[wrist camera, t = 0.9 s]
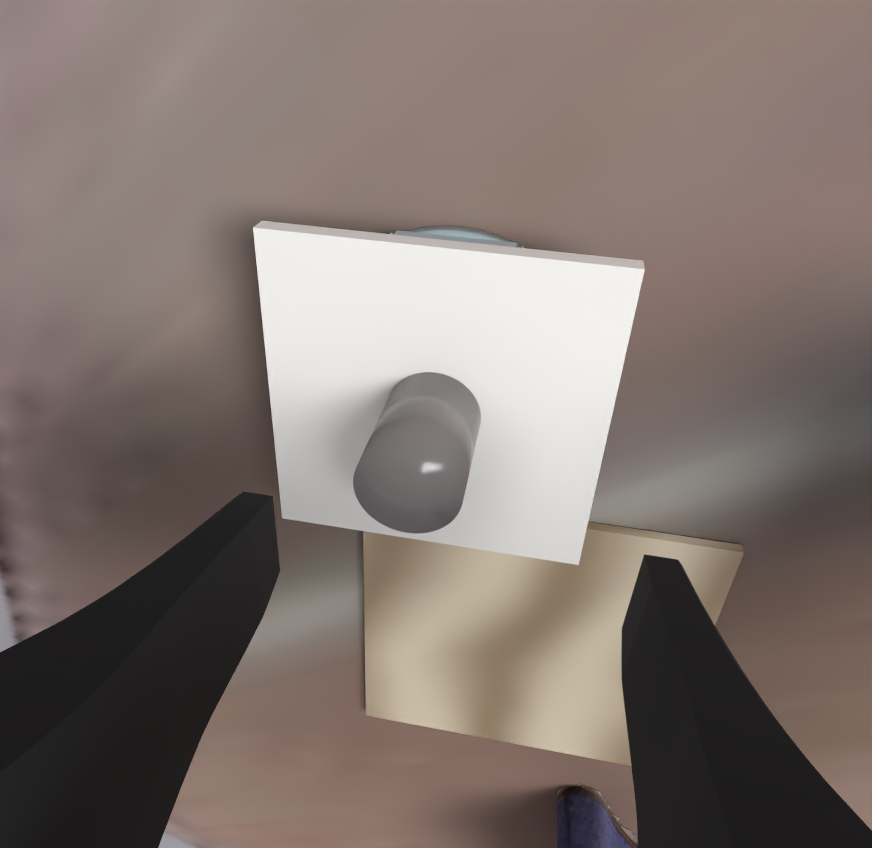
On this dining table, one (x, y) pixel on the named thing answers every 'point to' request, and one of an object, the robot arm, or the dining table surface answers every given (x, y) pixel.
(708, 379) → the dining table surface
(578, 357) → the cover
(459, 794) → the dining table surface
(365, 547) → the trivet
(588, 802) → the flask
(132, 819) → the robot arm
